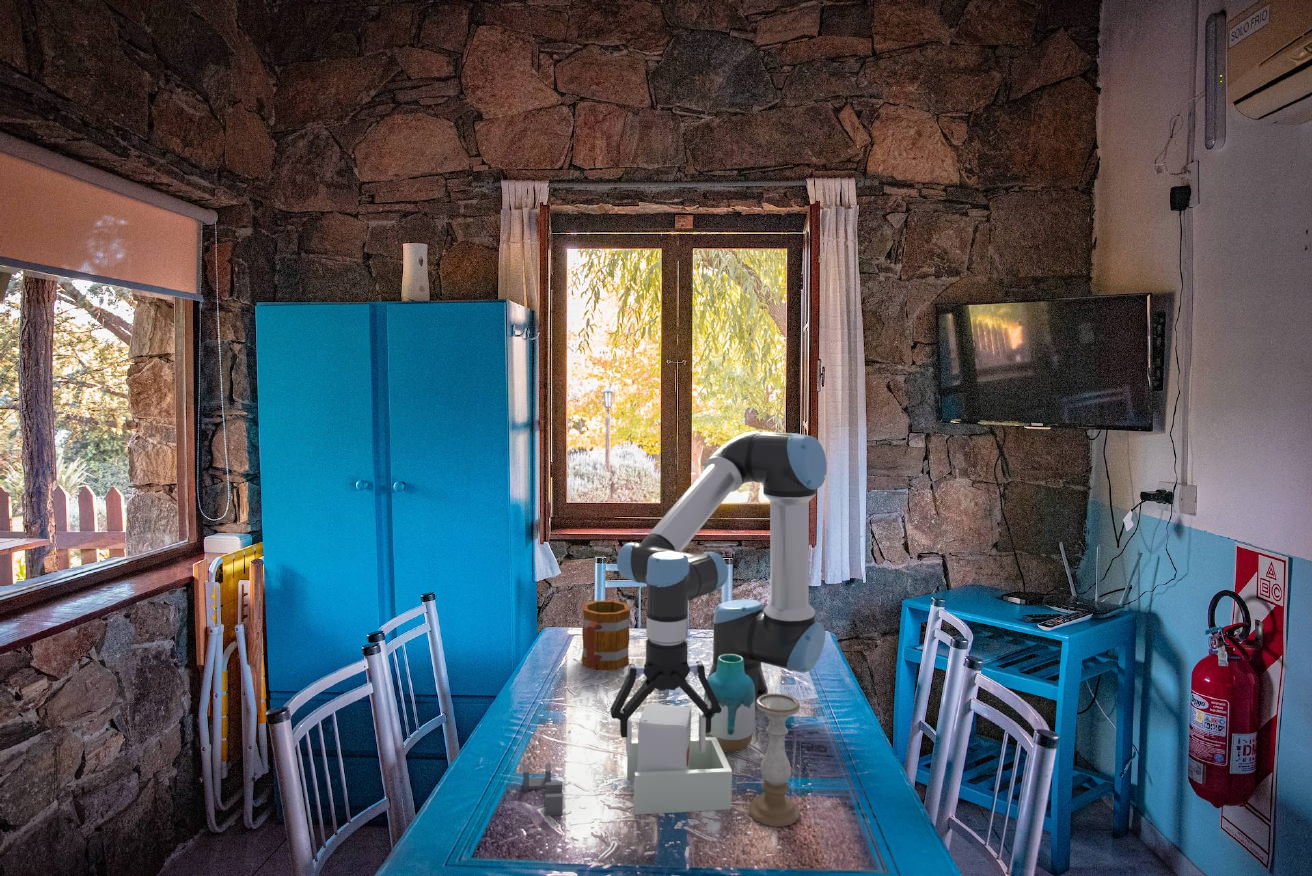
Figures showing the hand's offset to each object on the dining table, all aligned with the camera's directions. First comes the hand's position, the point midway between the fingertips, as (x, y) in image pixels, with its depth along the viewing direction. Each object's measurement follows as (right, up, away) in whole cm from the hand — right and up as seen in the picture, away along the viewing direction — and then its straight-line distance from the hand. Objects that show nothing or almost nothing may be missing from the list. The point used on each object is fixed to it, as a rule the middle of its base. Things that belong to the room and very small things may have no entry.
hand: (665, 751), depth 142 cm
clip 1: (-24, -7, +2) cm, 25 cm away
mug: (-16, -3, +64) cm, 66 cm away
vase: (+13, -7, +18) cm, 24 cm away
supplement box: (0, -8, 0) cm, 8 cm away
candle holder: (+19, -9, -6) cm, 22 cm away
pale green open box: (+2, -8, +1) cm, 8 cm away
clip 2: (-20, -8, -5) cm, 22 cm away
